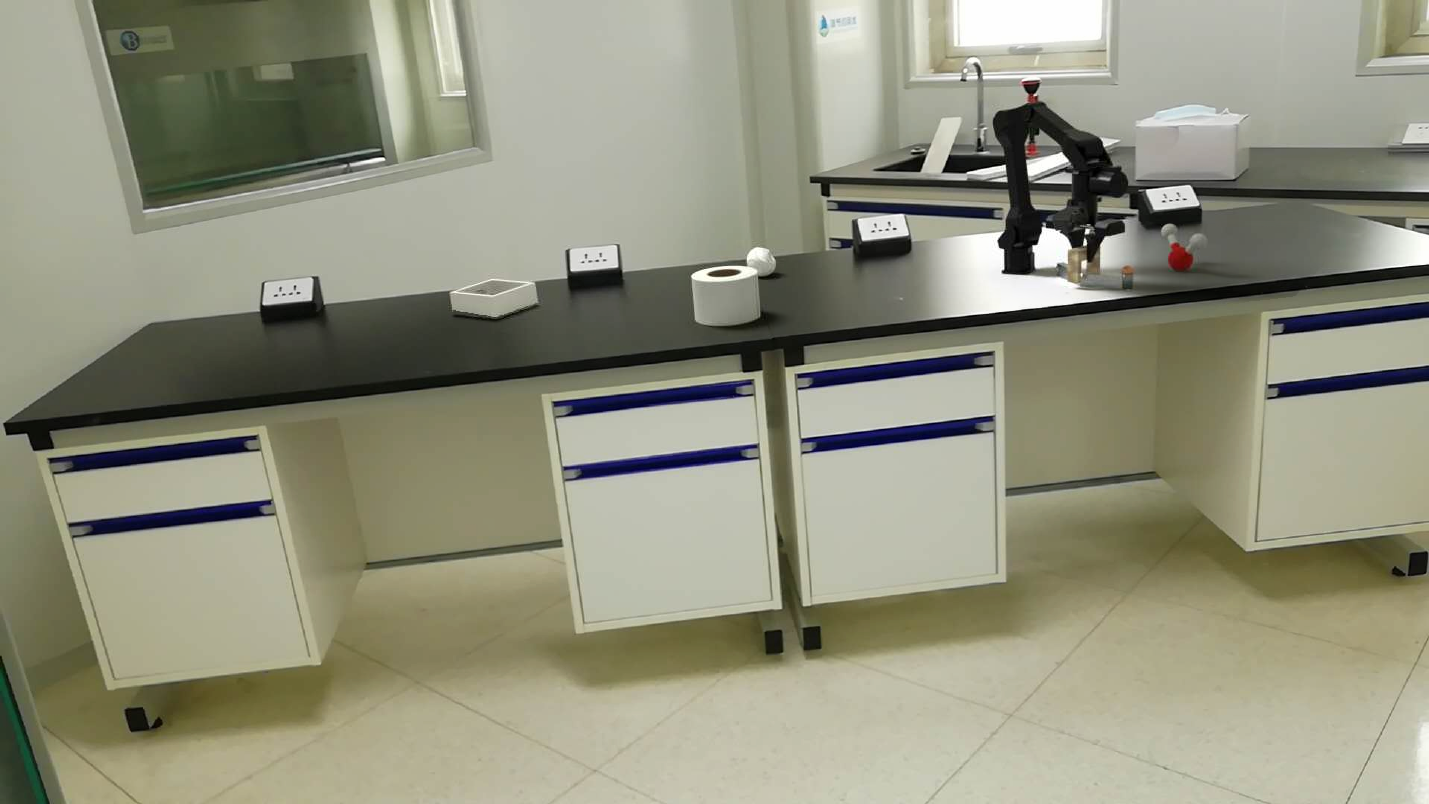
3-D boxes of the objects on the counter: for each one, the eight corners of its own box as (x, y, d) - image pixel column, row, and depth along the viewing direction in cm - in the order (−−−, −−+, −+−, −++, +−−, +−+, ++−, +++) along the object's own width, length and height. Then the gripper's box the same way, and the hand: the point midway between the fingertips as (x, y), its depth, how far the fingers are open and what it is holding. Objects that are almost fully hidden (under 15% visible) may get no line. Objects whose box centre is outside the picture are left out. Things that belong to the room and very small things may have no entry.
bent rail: (1040, 278, 281) (1040, 256, 279) (1060, 273, 283) (1060, 251, 282) (1115, 293, 261) (1115, 270, 259) (1135, 288, 263) (1136, 265, 262)
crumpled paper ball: (774, 279, 306) (771, 250, 303) (745, 280, 307) (743, 251, 305) (778, 272, 313) (776, 243, 311) (750, 273, 315) (748, 245, 312)
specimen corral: (453, 315, 300) (449, 292, 298) (495, 300, 311) (492, 278, 309) (496, 320, 291) (492, 296, 289) (538, 305, 302) (535, 282, 300)
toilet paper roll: (774, 312, 273) (770, 267, 269) (731, 329, 262) (727, 282, 259) (724, 306, 283) (720, 263, 279) (681, 322, 272) (677, 277, 269)
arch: (1067, 281, 269) (1067, 249, 266) (1089, 275, 272) (1090, 244, 270) (1077, 283, 266) (1077, 251, 264) (1099, 277, 270) (1100, 245, 267)
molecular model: (1209, 276, 267) (1211, 234, 264) (1186, 279, 267) (1188, 236, 264) (1173, 261, 284) (1175, 221, 281) (1151, 264, 284) (1153, 223, 280)
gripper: (1028, 195, 267) (1028, 262, 272) (1092, 203, 252) (1091, 273, 257) (1062, 188, 272) (1062, 253, 277) (1127, 195, 257) (1125, 264, 262)
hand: (1083, 261), depth 268 cm, fingers closed on arch, 3 cm apart
